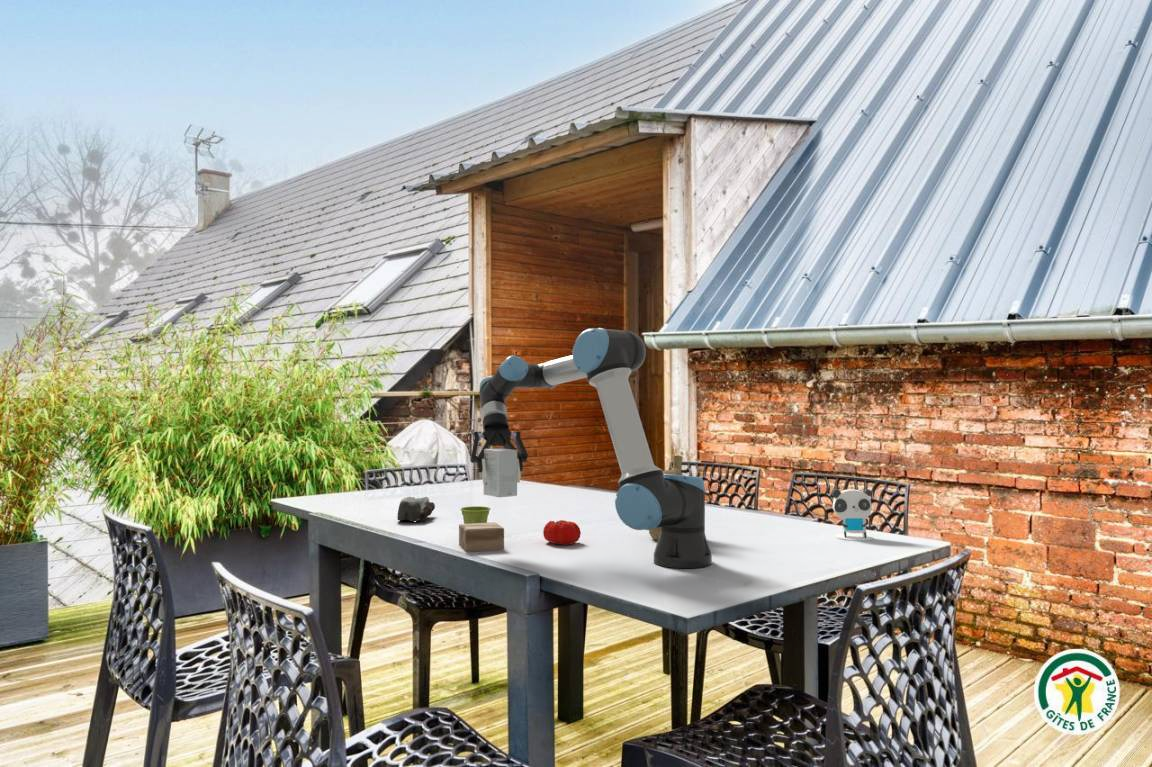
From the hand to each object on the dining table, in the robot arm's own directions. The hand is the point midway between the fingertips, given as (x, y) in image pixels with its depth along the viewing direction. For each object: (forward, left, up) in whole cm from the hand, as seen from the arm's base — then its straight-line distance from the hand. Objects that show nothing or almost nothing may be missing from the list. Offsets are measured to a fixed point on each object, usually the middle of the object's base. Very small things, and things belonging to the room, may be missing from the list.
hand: (501, 479), depth 227 cm
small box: (+3, 0, -5) cm, 6 cm away
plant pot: (+30, +2, -21) cm, 37 cm away
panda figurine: (-9, -108, -21) cm, 111 cm away
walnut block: (+11, +4, -21) cm, 24 cm away
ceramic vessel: (+7, -55, -21) cm, 60 cm away
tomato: (+10, -20, -21) cm, 31 cm away
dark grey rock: (+70, +15, -21) cm, 74 cm away
